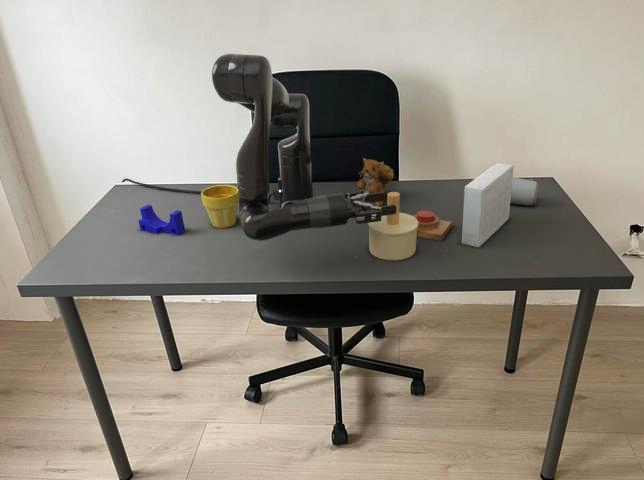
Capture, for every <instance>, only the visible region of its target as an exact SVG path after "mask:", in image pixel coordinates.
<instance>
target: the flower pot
mask: <svg viewBox="0 0 644 480" xmlns="http://www.w3.org/2000/svg"><path fill="white" fill-rule="evenodd" d="M201 191H202V192H201V193H200V196H201V197H200V198H201V203H202V205H203V207H205V209H206V212H207V214H208V217H209V220H210V222H211V225H212V226H213V227H215V228H218V229H224V228H229V227H232V226H235V224H236V222H237V214H238V213H237V212H238V205H239V191H238V186H234V185H231V184H217V185H211V186H207V187H206V188H203V190H201Z"/></svg>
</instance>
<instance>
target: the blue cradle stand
mask: <svg viewBox="0 0 644 480" xmlns="http://www.w3.org/2000/svg"><path fill="white" fill-rule="evenodd" d="M139 211H140V215H141V218H140V219H139V220H138V225H139V229H140V231H141V232H147V233H151V234H156V235H158V234H160V233H165V234H170V235H175V236H179V235H181V234H182V233H183V234H184V232H186V228H185V223H184V217H183V213H182V211H181V210H178V209H177V210H175V211H173V212H171V213H169V221H168V222H167V221H164V220H162V219H161V218H160V217H158V215H157V214H156V213H155V210H154V208H153V205H151V204H146V205H144V206H142V207H140V208H139Z"/></svg>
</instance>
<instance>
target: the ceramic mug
mask: <svg viewBox="0 0 644 480" xmlns="http://www.w3.org/2000/svg"><path fill="white" fill-rule="evenodd" d="M539 187H540V184H539V182H538V181H535V180H530V179H524V178H518V177H515V176H513V179H512V189H511V199H510V205H511V204H512V205H521V206H522V205H523V206H535V204H536V202H537V197H538V192H539Z"/></svg>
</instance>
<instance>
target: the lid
mask: <svg viewBox="0 0 644 480" xmlns="http://www.w3.org/2000/svg"><path fill="white" fill-rule="evenodd" d="M386 195H387V198H386V206H388V205H395V206H396V214H393V215H386V216H382V217H381V221H379V222H371V223H367V226H368V227H367V228H368V229H369V228H370V229H371V230H372V231H374V232H376V233H379V234H383V235H404V234H408V233H411V232H413V231H415V230H416V229H417V228H418V220H417V219H416V218H415V217H413V216H411V215H412V214H408V213H405V212H400V200H401V199H400V198H401V193H400V192H397V191H390V192H388V193H386ZM372 218H374V217H372Z"/></svg>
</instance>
